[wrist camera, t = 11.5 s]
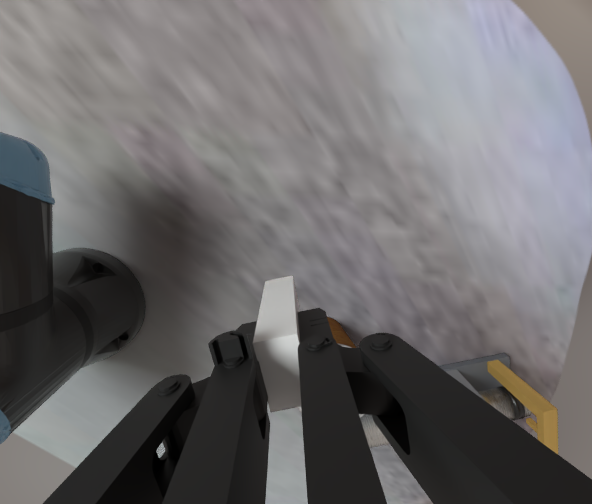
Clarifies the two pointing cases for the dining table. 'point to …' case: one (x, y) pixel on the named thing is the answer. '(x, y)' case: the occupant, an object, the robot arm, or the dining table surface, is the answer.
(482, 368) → the collar bench
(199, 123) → the dining table surface
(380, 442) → the aluminium tube
